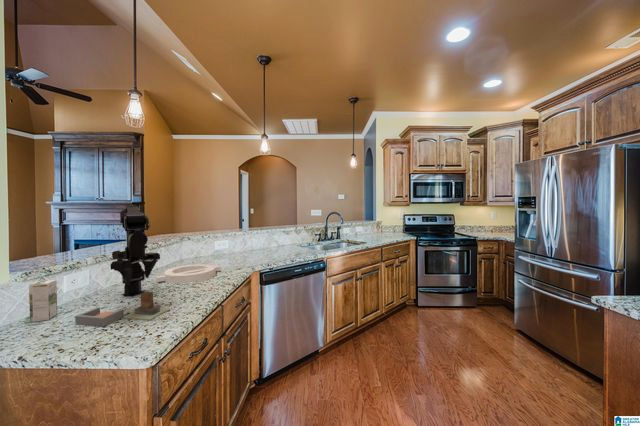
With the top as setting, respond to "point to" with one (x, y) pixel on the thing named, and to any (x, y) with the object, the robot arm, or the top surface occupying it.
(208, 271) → the white circle with bar
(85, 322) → the bay
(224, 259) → the top surface
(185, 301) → the top surface
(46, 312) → the syrup box
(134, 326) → the top surface
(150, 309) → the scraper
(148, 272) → the robot arm
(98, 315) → the tile
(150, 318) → the mat
